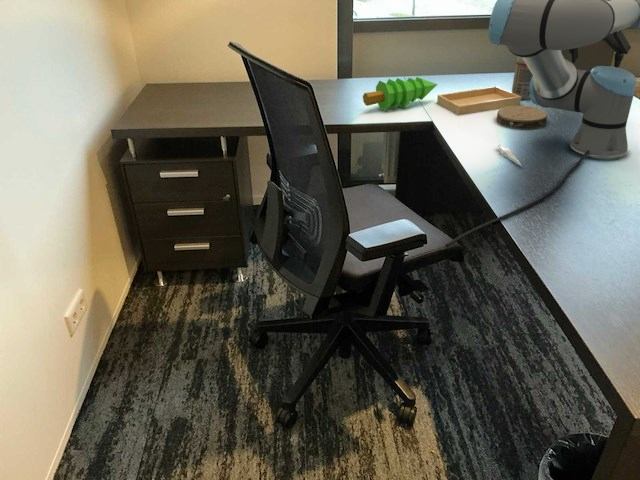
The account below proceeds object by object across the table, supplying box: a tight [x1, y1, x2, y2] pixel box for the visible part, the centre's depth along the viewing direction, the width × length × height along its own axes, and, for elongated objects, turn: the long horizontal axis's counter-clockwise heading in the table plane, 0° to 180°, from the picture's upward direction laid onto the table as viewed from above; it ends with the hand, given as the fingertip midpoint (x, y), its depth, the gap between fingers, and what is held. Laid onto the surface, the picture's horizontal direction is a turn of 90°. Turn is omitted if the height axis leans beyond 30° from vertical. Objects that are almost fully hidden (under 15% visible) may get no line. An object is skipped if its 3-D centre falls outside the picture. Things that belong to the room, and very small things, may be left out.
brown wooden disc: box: [496, 105, 548, 130], centre depth 187 cm, size 16×16×3 cm
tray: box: [436, 85, 522, 116], centre depth 206 cm, size 26×16×3 cm, turn 108°
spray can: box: [511, 56, 533, 100], centre depth 206 cm, size 8×8×20 cm
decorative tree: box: [362, 76, 439, 112], centre depth 206 cm, size 11×12×30 cm
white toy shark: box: [497, 144, 522, 167], centre depth 161 cm, size 15×3×2 cm, turn 9°
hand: (595, 63), depth 181 cm, fingers open, 13 cm apart
